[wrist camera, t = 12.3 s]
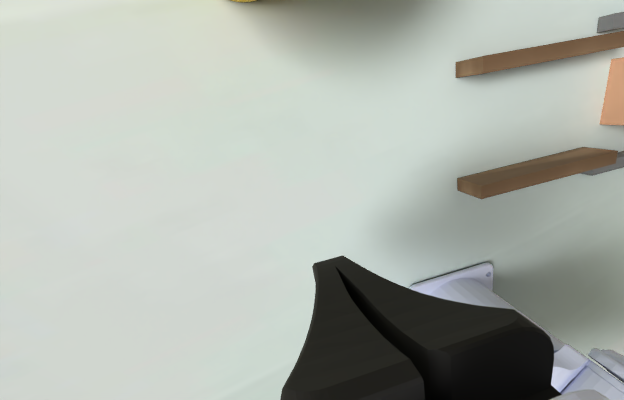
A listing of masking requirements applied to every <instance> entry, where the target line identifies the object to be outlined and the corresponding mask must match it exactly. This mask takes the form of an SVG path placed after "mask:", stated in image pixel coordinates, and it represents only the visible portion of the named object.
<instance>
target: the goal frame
mask: <svg viewBox="0 0 624 400" xmlns="http://www.w3.org/2000/svg"><path fill="white" fill-rule="evenodd" d="M621 28H624V12H621V13H615V14H611V15H607V16H603V17H600V18H599V21H598V29H597V33H598V32H604V31H609V30H615V29H621ZM622 167H624V151H622V152H618V153H617V159H616V164H612V165H608V166H604V167H601V168H597V169H593V170H589V171H586V172H582V173H581V174H587V175H592V176H593V175H596V174H600V173H604V172H607V171H611V170H615V169H619V168H622Z"/></svg>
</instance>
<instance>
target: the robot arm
mask: <svg viewBox="0 0 624 400" xmlns="http://www.w3.org/2000/svg"><path fill="white" fill-rule="evenodd" d="M312 267H313V272H314V277H315V282H316V294H315V303H314V310H313V315H312V320H311V324H310V328H309V331H308V334H307V338H306V341H305V343H304V346H303V348H302V351H301V353H300V355H299V358H298V360H297V362H296V365H295V367H294V369H293V370H292V372H291V374H290V376H289V378H288V380H287V381H286V383H285V385H284V387H283V389H282V394H281V400H624V384H623V383H624V356H623V355H621V354H619V353H617V352H615V351H613V350H599V349H597V348H593V349H591V351H590V352H589V354H588V356H590V357H591V358H592V359H594V360H595V361H596V362H598V363H599V364H600V365H602V366H603V367H604V368H606V370H607V371H608V372H610V373H611V374H612V375H614V376H615V377H616V378H618V379H619V380H621V381H622V382H623V383H622V382H620V381H619V380H618V379H616V378H615V377H613V376H612V375H611V374H609V373H608V372H606V371H605V370H603V369H602V368H601V367H599V366H598V365H596V364H595V363H594V362H592V361H591V360H589V359H588V358H587V357H585V356H584V355H582V354H581V353H580V352H578V351H577V350H575V349H574V348H573V347H571V346H570V345H568V344H564V343H563V342H562V341H560V340H559V339H557V338H556V337H555V336H553V335H552V334H551V333H549V332H548V331H546V330H545V329H544V328H542V327H541V326H540V325H538V324H537V323H535V322H534V321H533V320H531V319H530V318H528V317H527V316H526V315H524V314H523V313H522V312H520V311H519V310H517V309H516V308H515V307H513V306H512V305H511V304H509V303H508V302H506V301H505V300H504V299H502V298H501V297H499V296H498V295H497V294H495V293H494V292H493V265H492V264H490V263H483V264H480V265H477V266H473V267H470V268H467V269H464V270H460V271H457V272H454V273H450V274H447V275H444V276H440V277H437V278H434V279H431V280H427V281H424V282H421V283H417V284H414V285H412V286H411V287H410V288H409V289H408V288H406V287H403V286H400V285H398V284H395V283H393V282H391V281H389V280H387V279H384V278H382V277H380V276H378V275H376V274H374V273H372V272H370V271H369V270H367V269H365V268H363V267H361V266H360V265H358V264H356V263H355V262H353V261H351V260H350V259H348V258H346V257H344V256H340V257H336V258H332V259H329V260H325V261H321V262H318V263H314V265H313V266H312Z"/></svg>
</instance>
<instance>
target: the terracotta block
mask: <svg viewBox="0 0 624 400" xmlns="http://www.w3.org/2000/svg"><path fill="white" fill-rule="evenodd" d="M600 124H606V125H624V58H616V59H611V65H610V70H609V76H608V81H607V87H606V92H605V98H604V103H603V109H602V114H601V120H600Z"/></svg>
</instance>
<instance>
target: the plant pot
mask: <svg viewBox="0 0 624 400" xmlns="http://www.w3.org/2000/svg"><path fill="white" fill-rule="evenodd" d="M231 1H236V2H251V1H256V0H231Z"/></svg>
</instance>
